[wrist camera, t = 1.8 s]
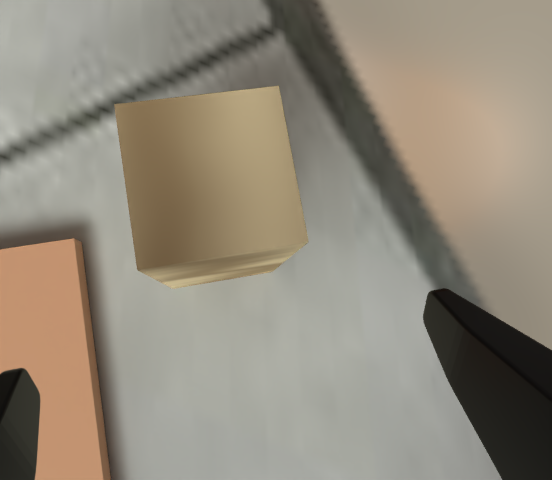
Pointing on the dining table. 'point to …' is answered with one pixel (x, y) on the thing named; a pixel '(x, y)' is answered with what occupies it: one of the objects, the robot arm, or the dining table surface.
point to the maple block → (210, 185)
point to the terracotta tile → (55, 355)
